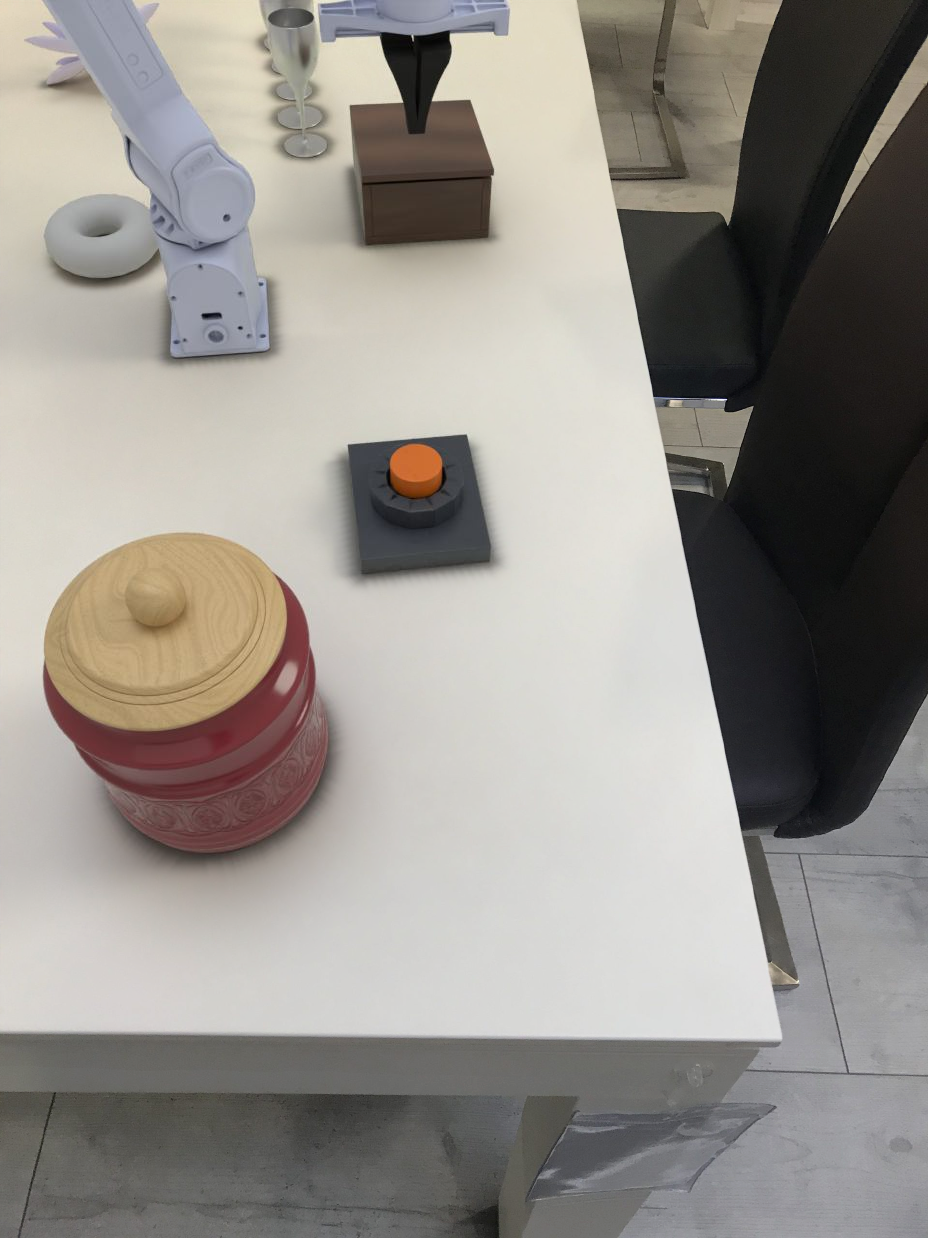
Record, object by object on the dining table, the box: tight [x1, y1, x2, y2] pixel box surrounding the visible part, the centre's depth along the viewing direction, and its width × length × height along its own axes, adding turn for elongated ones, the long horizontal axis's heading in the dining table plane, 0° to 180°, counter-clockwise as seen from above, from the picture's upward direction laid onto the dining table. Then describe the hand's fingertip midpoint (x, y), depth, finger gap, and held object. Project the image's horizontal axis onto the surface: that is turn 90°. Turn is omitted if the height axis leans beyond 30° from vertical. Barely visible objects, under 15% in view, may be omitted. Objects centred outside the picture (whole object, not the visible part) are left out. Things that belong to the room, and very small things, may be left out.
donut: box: [43, 193, 159, 279], centre depth 81 cm, size 10×4×10 cm
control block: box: [347, 433, 492, 575], centre depth 65 cm, size 11×9×4 cm
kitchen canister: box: [42, 532, 329, 854], centre depth 48 cm, size 13×13×18 cm
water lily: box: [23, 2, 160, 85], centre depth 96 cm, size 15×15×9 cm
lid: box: [349, 99, 495, 183], centre depth 83 cm, size 13×12×1 cm
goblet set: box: [258, 0, 328, 158], centre depth 95 cm, size 28×6×13 cm, turn 12°
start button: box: [390, 444, 442, 498], centre depth 63 cm, size 4×4×2 cm
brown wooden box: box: [349, 113, 493, 246], centre depth 86 cm, size 13×12×6 cm
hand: (415, 127), depth 77 cm, fingers closed
